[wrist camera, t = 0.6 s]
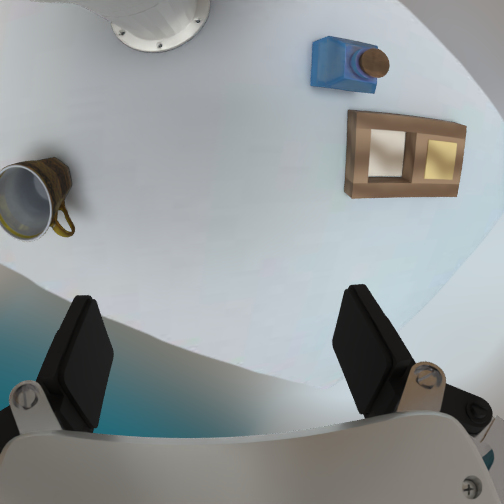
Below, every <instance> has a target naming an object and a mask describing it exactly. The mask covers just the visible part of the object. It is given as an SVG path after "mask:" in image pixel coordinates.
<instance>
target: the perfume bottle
mask: <svg viewBox="0 0 504 504" xmlns="http://www.w3.org/2000/svg"><path fill="white" fill-rule="evenodd" d="M388 71H389V60H388V57H387V56H386V54H385V53H384V52H382V51H381V50H379V49H378V47H377V46H375V45H371V44H367V43H362V42H358V41H353V40H348V39H343V38H337V37H332V36H327V37H325V38H322V39H320V40H317V41H315V42H313V46H312V67H311V86H317V87H325V88H333V89H340V90H347V91H354V92H364V93H373V94H374V93H375V89H376V85H377V78H380V77H383V76H385V75H386V74H387V72H388Z"/></svg>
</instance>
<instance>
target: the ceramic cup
mask: <svg viewBox="0 0 504 504" xmlns="http://www.w3.org/2000/svg"><path fill="white" fill-rule="evenodd" d="M71 186H72V182H71V177H70V172H69V168H68V167H67V166H66V165H65V164H63V163H62V162H61V161H59V160H58V159H57V158H55V157H53V158H48V159H43V160H37V161H25V162H19V163H15V164H12V165H8V166H6V167H4V168H3V169H2V170H1V171H0V226H1V228H2V229H3V230H4V231H5V232H6V233H7V234H8V235H10V236H11V237H13V238H14V239H17V240H19V241H24V242H31V241H35V240H37V239H39V238H41V237H42V236H43V235H44V234H45V233H46V231H47V230H48V228H49V227H50V226H51V227H52V228H53V230H54V231H55V232H56V233H57V234H58V235H60V236H62V237H70V236H72V235H73V234H74V232H75V227H74V224H73V222H72V221H71V219H70V217H69V215H68V212H67V210H66V208H65V202H64V200H65V197H66V195H67V194H68V192H69V190H70V188H71ZM58 210H62V211H63V213H64V215H65V218H66V220H67V222H68V224H69V226H70V228H71V230H72V232H69V231H67V230H65V229H64V228H63V227H62V226H61V225H60V224H59V222H58V221H57V215H58Z"/></svg>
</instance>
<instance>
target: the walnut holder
mask: <svg viewBox="0 0 504 504" xmlns="http://www.w3.org/2000/svg"><path fill="white" fill-rule="evenodd" d="M466 128H467V126H465V125H462V124H458V123H455V122H449V121H443V120H437V119H431V118H424V117H417V116H409V115H401V114H392V113H382V112H371V111H357V110H348V124H347V151H346V170H345V186H344V192H345V193H346V194H347V195H349V196H350V197H351V198H352V199H355V198H389V197H457V194H458V188H459V182H460V176H461V170H462V163H463V155H464V147H465V138H466ZM405 132H406V136H405ZM404 144H405V149H404ZM403 156H404V159H403ZM402 166H403V169H402ZM401 175H402V177H368V176H401Z"/></svg>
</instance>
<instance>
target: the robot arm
mask: <svg viewBox="0 0 504 504" xmlns="http://www.w3.org/2000/svg"><path fill="white" fill-rule="evenodd" d="M30 1H37V2H49V3H73V4H77V5H80V6H82V7H84V8H86V9H88V10H90V11H92V12H94V13H96V14H97V15H99V16H101V17H103V18H105V19H106V20H108V21H110V22H111V26H112V28H113V31H114V33H115V34H116V36H117V37H118V39H119V40H120V41H122V42H123V43H124V44H125V45H127V46H129V47H130V48H133V49H135V50H138V51H142V52H151V53H156V52H164V51H168V50H171V49H174V48H177V47H179V46H181V45H183V44H184V43H186V42H188V41H189V40H190V39H192V38H193V37H194V36H195V35H196V34H197V33H198V32H199V31H200V29H201V28H202V27H203V25H204V23H205V22H206V20H207V17H208V14H209V11H210V0H30ZM197 21H200V23H199V24H197V23H196V22H197ZM123 32H125V34H124V35H122V33H123ZM159 45H163V46H162V48H159ZM332 345H333V349H334V351H335V354H336V356H337V359H338V361H339V363H340V366H341V368H342V371H343V373H344V376H345V378H346V381H347V383H348V386H349V389H350V391H351V394H352V396H353V398H354V401H355V404H356V406H357V409H358V411H359V413H360V414H363V415H364V417H365V419H361V420H357V421H352V422H346V423H341V424H335V425H330V426H324V427H318V428H313V429H306V430H299V431H292V432H283V433H275V434H265V435H254V436H242V437H223V438H148V437H132V436H118V435H106V434H96V433H93V430H94V428H97V426H98V423H99V418H100V413H101V408H102V404H103V399H104V395H105V390H106V385H107V382H108V377H109V373H110V369H111V365H112V361H113V355H114V353H113V348H112V345H111V343H110V340H109V337H108V335H107V331H106V329H105V326H104V323H103V320H102V317H101V314H100V311H99V308H98V305H97V302H96V300H95V299H92V297H91V296H89V295H77V296H75V298H74V300H73V302H72V304H71V306H70V308H69V310H68V312H67V314H66V316H65V318H64V320H63V322H62V324H61V326H60V329H59V330H58V331H57V333H56V335H55V337H54V339H53V342H52V344H51V346H50V348H49V350H48V353H47V355H46V358H45V360H44V362H43V364H42V367H41V370H40V372H39V374H38V377H37V379H36V382H35V381H31V380H28V381H23V382H20V383H19V384H17V385H16V386H15V387H14V388H13V389H12V391H11V393H10V397H9V403H10V405H9V406H8V407H6V408H4V409H3V410H1V411H0V504H504V420H503V419H501V418H500V417H499V416H496V417H495V418H494V417H493V416H492V409H491V407H490V405H489V403H487V401H485V400H484V399H482V398H481V397H478V396H476V395H473V394H471V393H468V392H466V391H463V390H461V389H458V388H456V387H453V386H451V385H449V384H446V377H445V374H444V372H443V371H442V369H441V368H439V367H438V366H437V365H435V364H433V363H430V362H419V363H415V361H414V359H413V358H412V356H411V354H410V353H409V351H408V349H407V348H406V346H405V345H404V343H403V341H402V340H401V338H400V336H399V335H398V333H397V332H396V330H395V328H394V327H393V325H392V324H391V322H390V320H389V319H388V318H387V316H385V314H384V313H383V311H382V309H381V308H380V306H379V305H378V303H377V302H376V300H375V299H374V297H373V296H372V294H371V293H370V291H369V289H368V288H367V286H366V285H365V284H358V285H350V286H349V288H348V289H346V290H345V291H344V295H343V299H342V303H341V307H340V312H339V316H338V320H337V324H336V328H335V332H334V336H333V340H332Z"/></svg>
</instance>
